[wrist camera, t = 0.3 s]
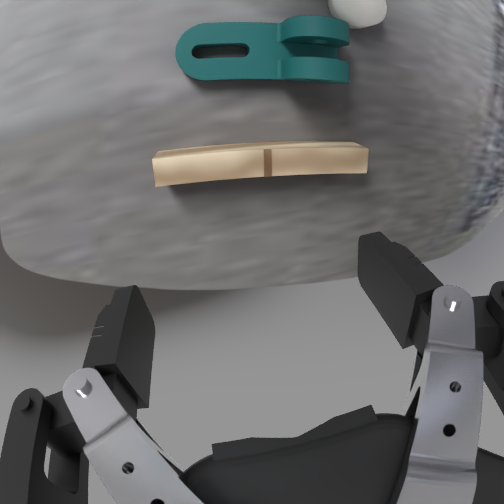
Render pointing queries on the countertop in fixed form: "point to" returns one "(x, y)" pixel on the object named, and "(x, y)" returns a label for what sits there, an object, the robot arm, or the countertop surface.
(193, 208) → the countertop surface
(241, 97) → the countertop surface
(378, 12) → the rounded smooth part
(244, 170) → the batten
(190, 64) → the bracket
